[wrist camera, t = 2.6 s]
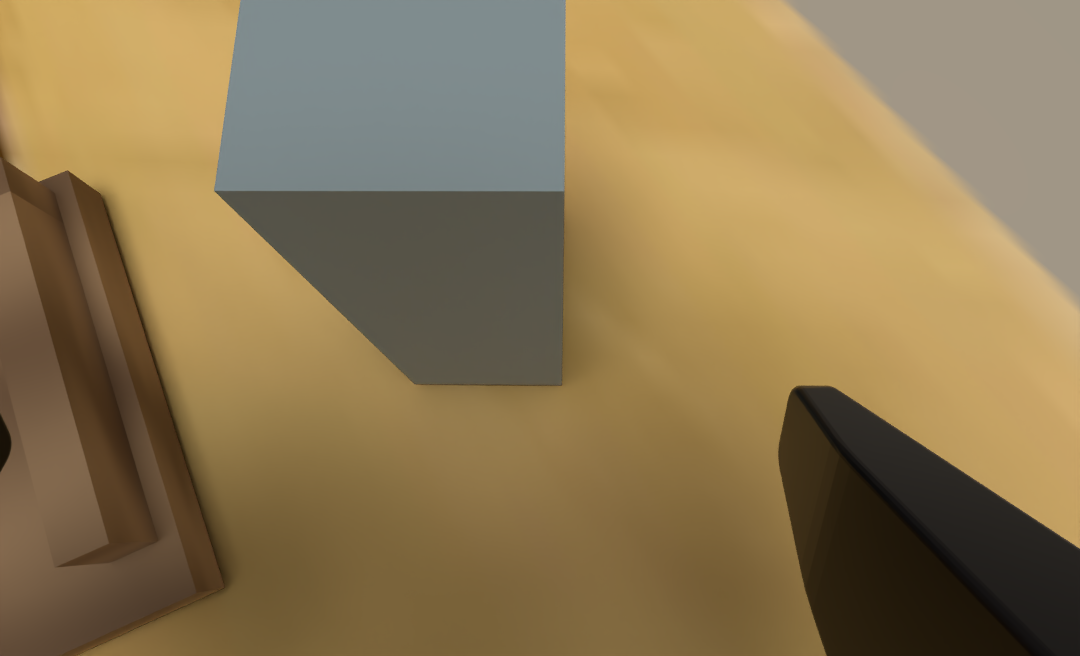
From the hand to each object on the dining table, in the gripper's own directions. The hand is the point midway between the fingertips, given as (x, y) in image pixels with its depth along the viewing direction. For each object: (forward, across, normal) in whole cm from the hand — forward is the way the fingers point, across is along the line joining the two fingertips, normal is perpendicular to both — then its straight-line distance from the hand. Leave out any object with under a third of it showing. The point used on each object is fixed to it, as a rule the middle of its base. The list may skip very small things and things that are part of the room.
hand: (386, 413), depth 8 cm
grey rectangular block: (+12, 0, +5) cm, 13 cm away
